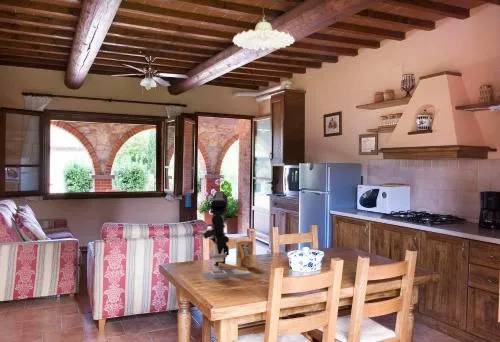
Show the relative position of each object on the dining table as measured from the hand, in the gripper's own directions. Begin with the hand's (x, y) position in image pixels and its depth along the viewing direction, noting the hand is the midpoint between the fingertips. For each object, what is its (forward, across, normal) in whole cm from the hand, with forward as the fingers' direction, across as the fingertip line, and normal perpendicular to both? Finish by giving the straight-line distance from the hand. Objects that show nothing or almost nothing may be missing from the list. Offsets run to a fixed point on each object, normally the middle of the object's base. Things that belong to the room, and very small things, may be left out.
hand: (218, 253), depth 224 cm
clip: (+8, +1, +8) cm, 11 cm away
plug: (+4, 0, 0) cm, 4 cm away
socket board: (+13, -1, +5) cm, 14 cm away
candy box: (+13, -16, +20) cm, 29 cm away
